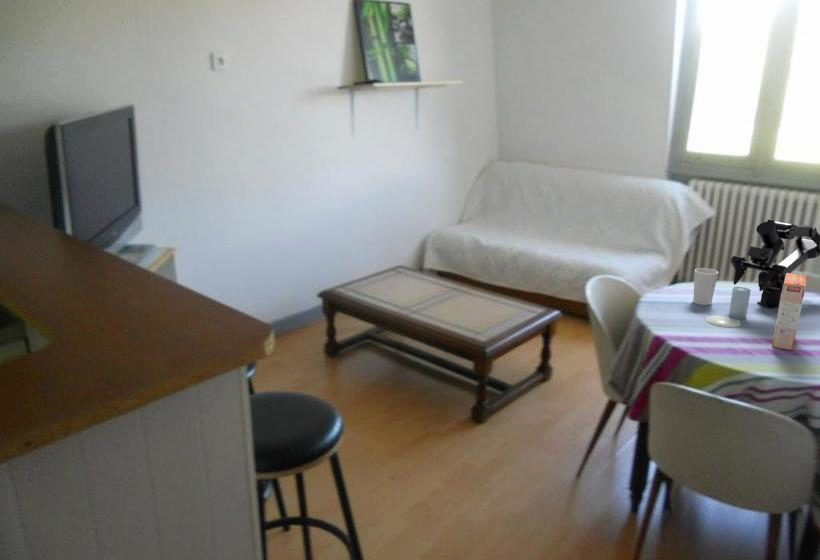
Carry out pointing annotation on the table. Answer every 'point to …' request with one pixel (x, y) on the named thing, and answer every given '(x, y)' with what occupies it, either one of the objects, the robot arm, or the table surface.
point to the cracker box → (789, 311)
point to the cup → (704, 285)
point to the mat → (722, 321)
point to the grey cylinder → (739, 302)
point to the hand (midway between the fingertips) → (746, 287)
